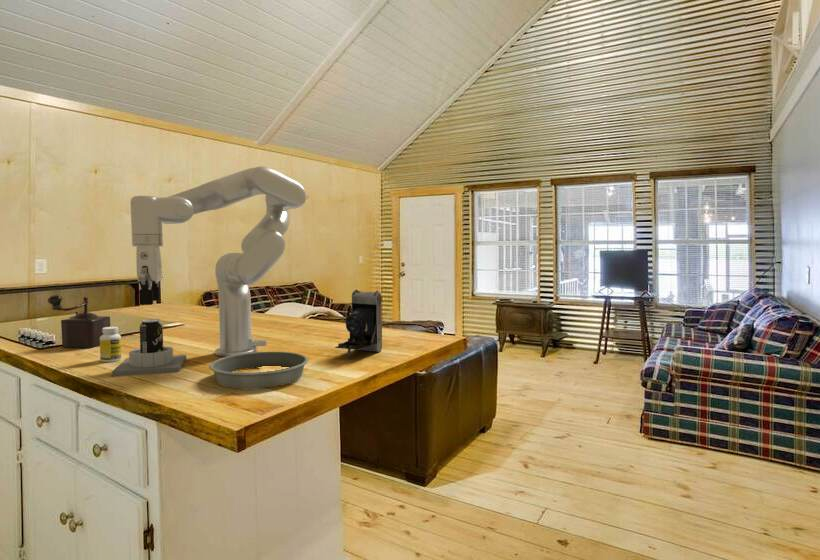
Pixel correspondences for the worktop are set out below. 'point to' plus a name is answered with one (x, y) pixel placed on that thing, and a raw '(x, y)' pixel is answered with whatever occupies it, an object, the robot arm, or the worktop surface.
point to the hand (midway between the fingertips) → (150, 302)
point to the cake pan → (258, 359)
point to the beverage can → (151, 336)
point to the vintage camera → (364, 323)
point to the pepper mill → (80, 325)
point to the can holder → (150, 362)
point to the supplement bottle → (110, 345)
